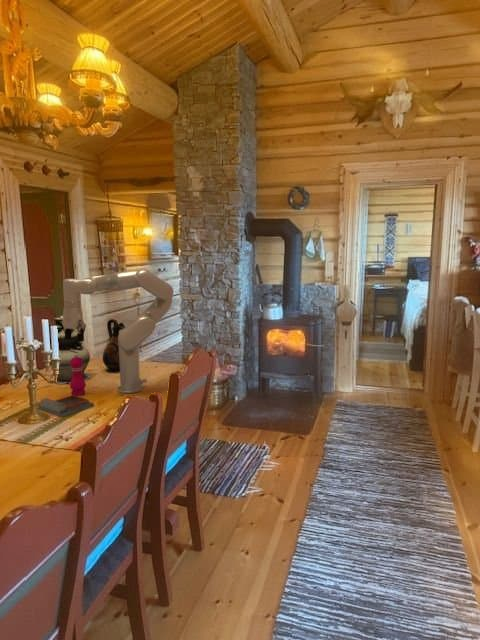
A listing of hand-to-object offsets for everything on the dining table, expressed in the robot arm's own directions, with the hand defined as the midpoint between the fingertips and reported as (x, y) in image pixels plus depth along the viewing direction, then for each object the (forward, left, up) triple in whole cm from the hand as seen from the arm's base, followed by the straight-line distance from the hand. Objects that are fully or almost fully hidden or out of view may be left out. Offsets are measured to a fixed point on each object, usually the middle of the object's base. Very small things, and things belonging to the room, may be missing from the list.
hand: (74, 340), depth 216 cm
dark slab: (+15, +12, -27) cm, 33 cm away
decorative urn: (-14, -26, -27) cm, 40 cm away
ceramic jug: (-40, -20, -27) cm, 52 cm away
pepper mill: (0, 0, -27) cm, 27 cm away
